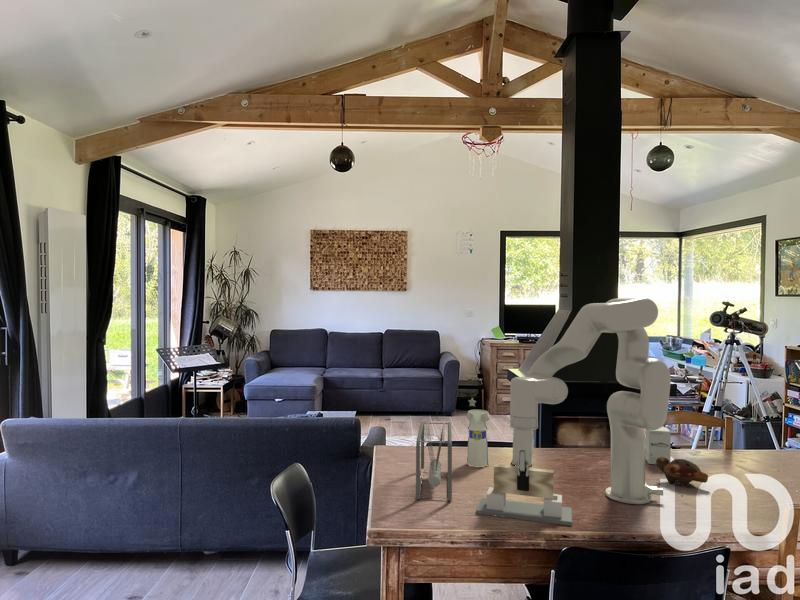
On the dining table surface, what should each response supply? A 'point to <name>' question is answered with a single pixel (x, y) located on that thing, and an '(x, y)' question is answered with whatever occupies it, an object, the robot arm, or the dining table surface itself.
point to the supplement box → (657, 444)
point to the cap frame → (526, 509)
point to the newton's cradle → (433, 459)
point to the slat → (537, 481)
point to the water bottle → (477, 436)
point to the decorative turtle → (681, 471)
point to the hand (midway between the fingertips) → (523, 487)
